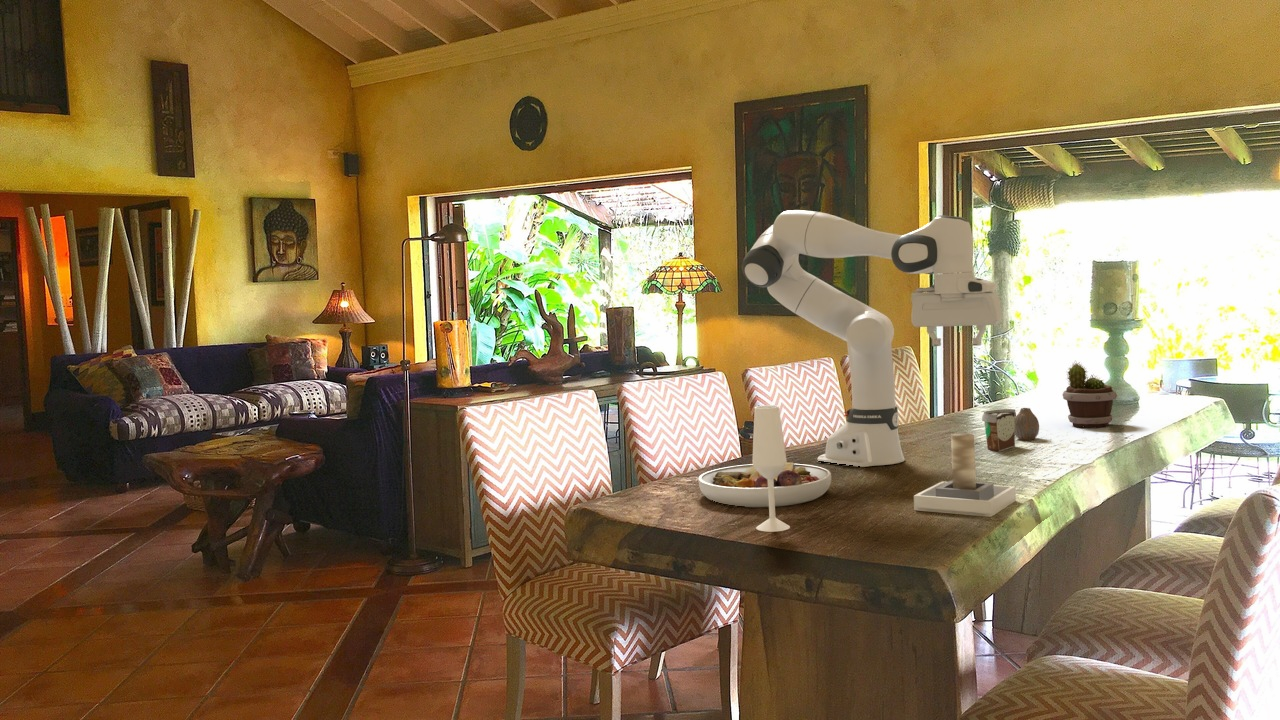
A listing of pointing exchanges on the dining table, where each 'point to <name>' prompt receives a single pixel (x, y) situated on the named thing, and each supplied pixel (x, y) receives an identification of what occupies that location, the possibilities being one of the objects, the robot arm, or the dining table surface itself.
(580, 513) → the dining table surface
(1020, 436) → the vase
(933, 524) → the dining table surface
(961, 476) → the peg
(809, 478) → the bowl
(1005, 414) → the food container
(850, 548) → the dining table surface
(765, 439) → the champagne flute
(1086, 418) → the flowerpot
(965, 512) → the tray
